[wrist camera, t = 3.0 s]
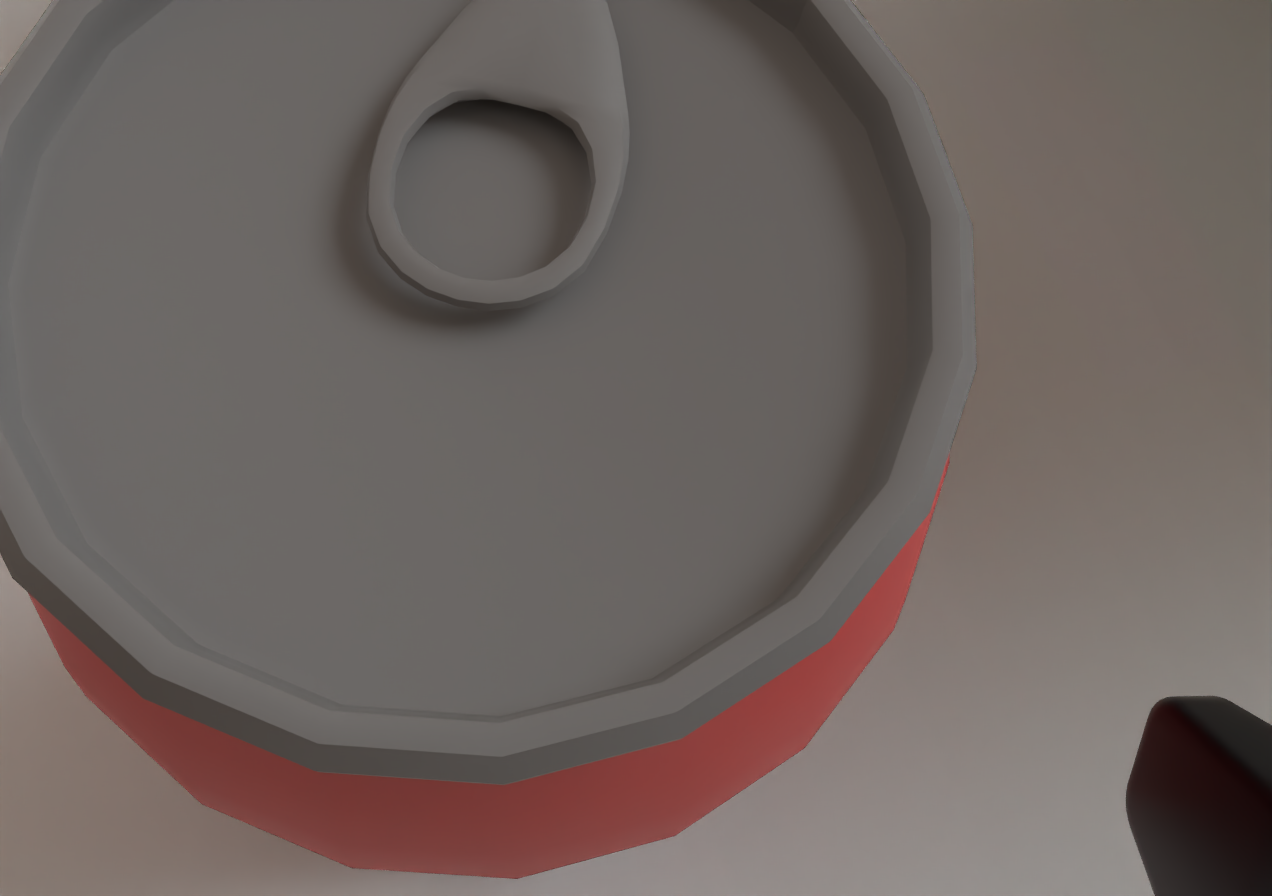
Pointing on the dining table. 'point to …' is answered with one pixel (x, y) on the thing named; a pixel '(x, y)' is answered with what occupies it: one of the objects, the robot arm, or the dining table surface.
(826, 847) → the dining table surface
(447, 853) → the beer can
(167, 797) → the dining table surface
